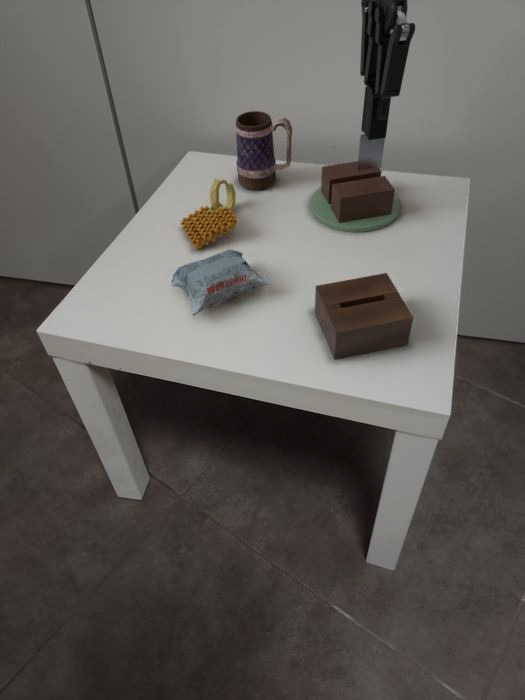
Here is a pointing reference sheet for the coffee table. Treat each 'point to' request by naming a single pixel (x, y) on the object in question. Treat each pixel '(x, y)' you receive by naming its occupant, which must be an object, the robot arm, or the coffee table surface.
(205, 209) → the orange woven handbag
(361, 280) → the knife block
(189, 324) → the coffee table surface
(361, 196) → the green disc stand
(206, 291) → the packaged food
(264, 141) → the mug
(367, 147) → the knife
